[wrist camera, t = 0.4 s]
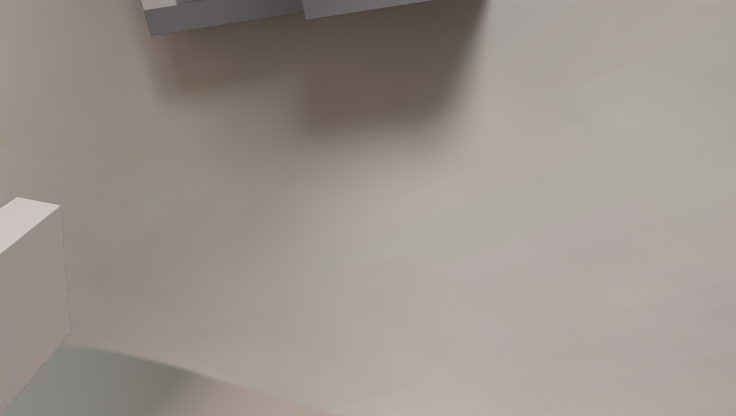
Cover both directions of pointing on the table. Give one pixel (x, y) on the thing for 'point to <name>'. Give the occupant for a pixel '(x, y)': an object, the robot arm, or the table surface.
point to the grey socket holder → (246, 11)
